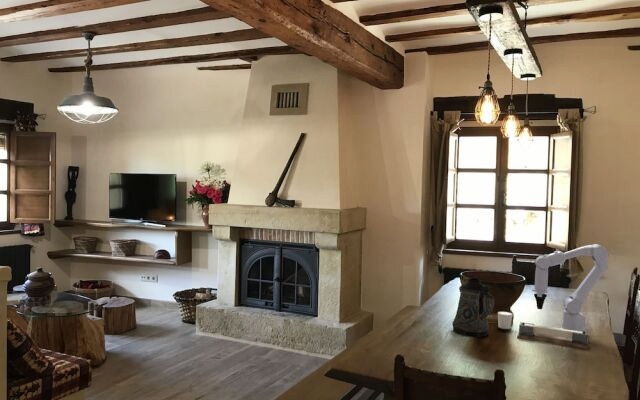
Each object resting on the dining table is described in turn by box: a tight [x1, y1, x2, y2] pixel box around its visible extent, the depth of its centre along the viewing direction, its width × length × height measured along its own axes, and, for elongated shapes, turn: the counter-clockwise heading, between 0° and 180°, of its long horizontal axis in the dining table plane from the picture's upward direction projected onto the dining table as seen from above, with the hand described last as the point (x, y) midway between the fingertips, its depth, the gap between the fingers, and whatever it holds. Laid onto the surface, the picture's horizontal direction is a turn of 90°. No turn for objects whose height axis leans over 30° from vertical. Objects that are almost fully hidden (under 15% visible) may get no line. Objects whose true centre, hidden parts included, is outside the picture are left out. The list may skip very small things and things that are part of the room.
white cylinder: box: [497, 311, 513, 330], centre depth 262 cm, size 7×7×7 cm
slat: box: [524, 323, 583, 339], centre depth 243 cm, size 24×3×3 cm, turn 64°
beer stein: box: [451, 277, 495, 338], centre depth 250 cm, size 16×19×25 cm
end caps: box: [518, 321, 589, 345], centre depth 243 cm, size 28×6×4 cm, turn 64°
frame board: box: [516, 332, 589, 350], centre depth 243 cm, size 29×10×1 cm, turn 64°
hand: (539, 308), depth 263 cm, fingers closed
